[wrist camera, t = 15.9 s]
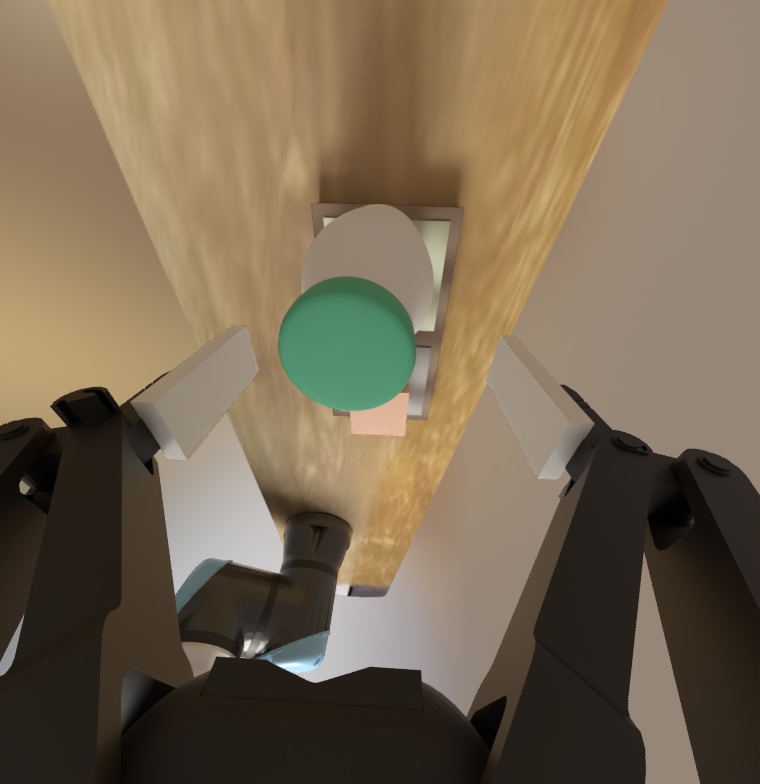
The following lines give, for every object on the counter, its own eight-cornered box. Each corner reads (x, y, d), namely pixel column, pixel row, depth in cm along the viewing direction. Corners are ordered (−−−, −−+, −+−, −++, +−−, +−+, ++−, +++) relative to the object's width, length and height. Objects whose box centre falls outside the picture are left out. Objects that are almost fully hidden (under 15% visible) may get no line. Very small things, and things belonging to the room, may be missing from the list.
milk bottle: (320, 241, 24) (170, 327, 8) (391, 180, 22) (377, 132, 5) (369, 311, 28) (331, 467, 12) (435, 267, 25) (505, 393, 9)
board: (425, 406, 39) (427, 421, 37) (337, 402, 39) (333, 416, 37) (457, 206, 25) (464, 207, 22) (319, 202, 25) (310, 203, 23)
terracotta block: (403, 403, 35) (404, 436, 30) (357, 400, 35) (351, 433, 30) (407, 362, 31) (409, 393, 26) (356, 360, 32) (348, 390, 27)
